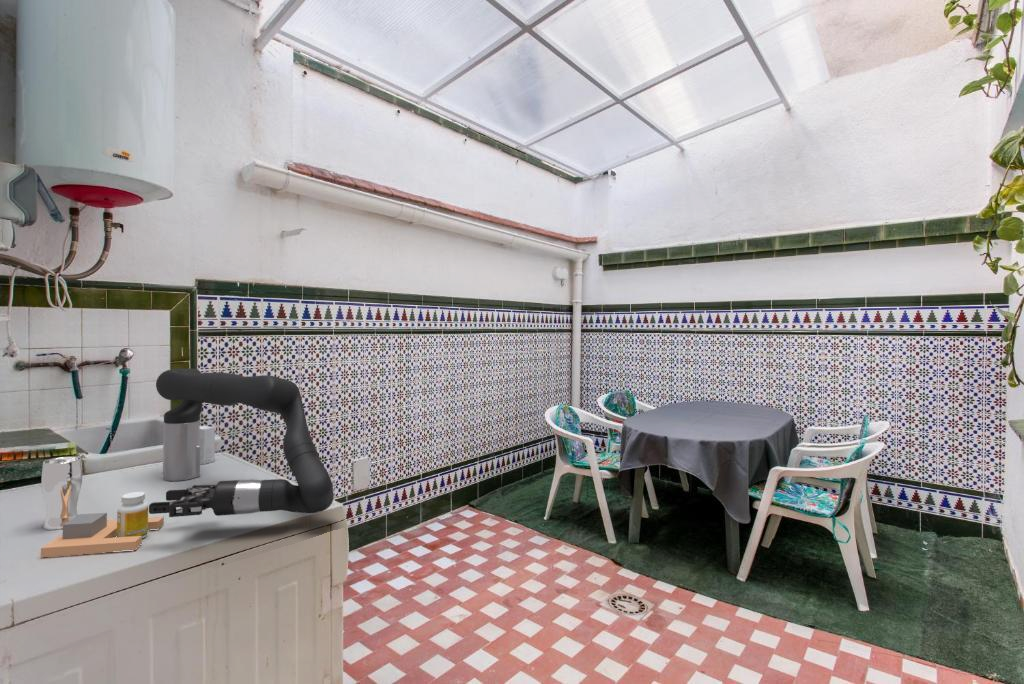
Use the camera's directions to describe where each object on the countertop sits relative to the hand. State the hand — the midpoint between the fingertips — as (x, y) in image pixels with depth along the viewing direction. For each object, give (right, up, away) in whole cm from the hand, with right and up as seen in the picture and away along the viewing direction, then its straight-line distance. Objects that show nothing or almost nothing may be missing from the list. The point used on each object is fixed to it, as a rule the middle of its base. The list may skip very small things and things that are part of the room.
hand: (158, 501), depth 109 cm
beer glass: (-26, -7, +5) cm, 28 cm away
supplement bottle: (-5, -8, -1) cm, 9 cm away
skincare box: (-28, -6, +61) cm, 67 cm away
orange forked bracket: (-9, -8, -2) cm, 12 cm away
